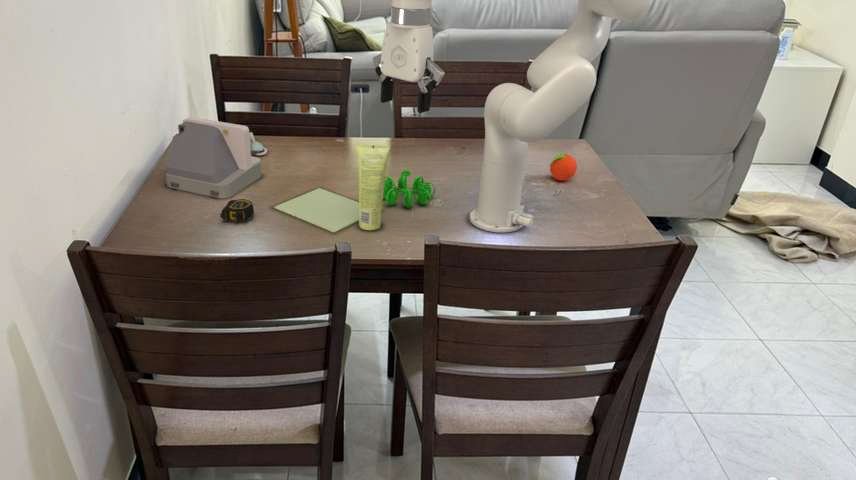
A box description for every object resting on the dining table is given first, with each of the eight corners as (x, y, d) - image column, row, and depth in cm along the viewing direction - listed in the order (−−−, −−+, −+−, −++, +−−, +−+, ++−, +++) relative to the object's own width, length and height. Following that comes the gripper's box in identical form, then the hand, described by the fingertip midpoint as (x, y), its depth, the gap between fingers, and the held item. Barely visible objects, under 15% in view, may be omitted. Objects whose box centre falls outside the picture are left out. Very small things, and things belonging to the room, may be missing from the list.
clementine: (555, 186, 176) (559, 160, 172) (539, 177, 182) (543, 152, 178) (580, 182, 179) (584, 157, 175) (563, 173, 184) (568, 148, 181)
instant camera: (270, 178, 179) (267, 122, 172) (215, 203, 164) (209, 144, 157) (213, 161, 189) (207, 108, 182) (156, 184, 175) (147, 128, 167)
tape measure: (230, 211, 161) (229, 196, 159) (258, 213, 160) (256, 198, 158) (220, 223, 155) (219, 208, 153) (249, 225, 154) (247, 210, 152)
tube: (373, 219, 158) (375, 138, 148) (387, 226, 154) (390, 144, 145) (354, 225, 155) (355, 143, 145) (368, 233, 151) (370, 150, 141)
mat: (379, 210, 162) (379, 209, 162) (334, 232, 151) (334, 231, 151) (319, 189, 173) (319, 187, 173) (273, 208, 163) (273, 206, 163)
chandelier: (410, 216, 159) (412, 189, 156) (362, 199, 168) (363, 173, 164) (446, 197, 169) (448, 171, 166) (399, 182, 178) (400, 157, 174)
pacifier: (268, 149, 199) (247, 148, 199) (267, 128, 196) (246, 128, 196) (266, 157, 193) (245, 157, 192) (266, 136, 190) (244, 136, 189)
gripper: (363, 13, 131) (360, 101, 139) (434, 25, 121) (426, 119, 129) (388, 9, 135) (384, 94, 144) (459, 21, 125) (450, 112, 134)
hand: (404, 106), depth 137 cm, fingers open, 9 cm apart
